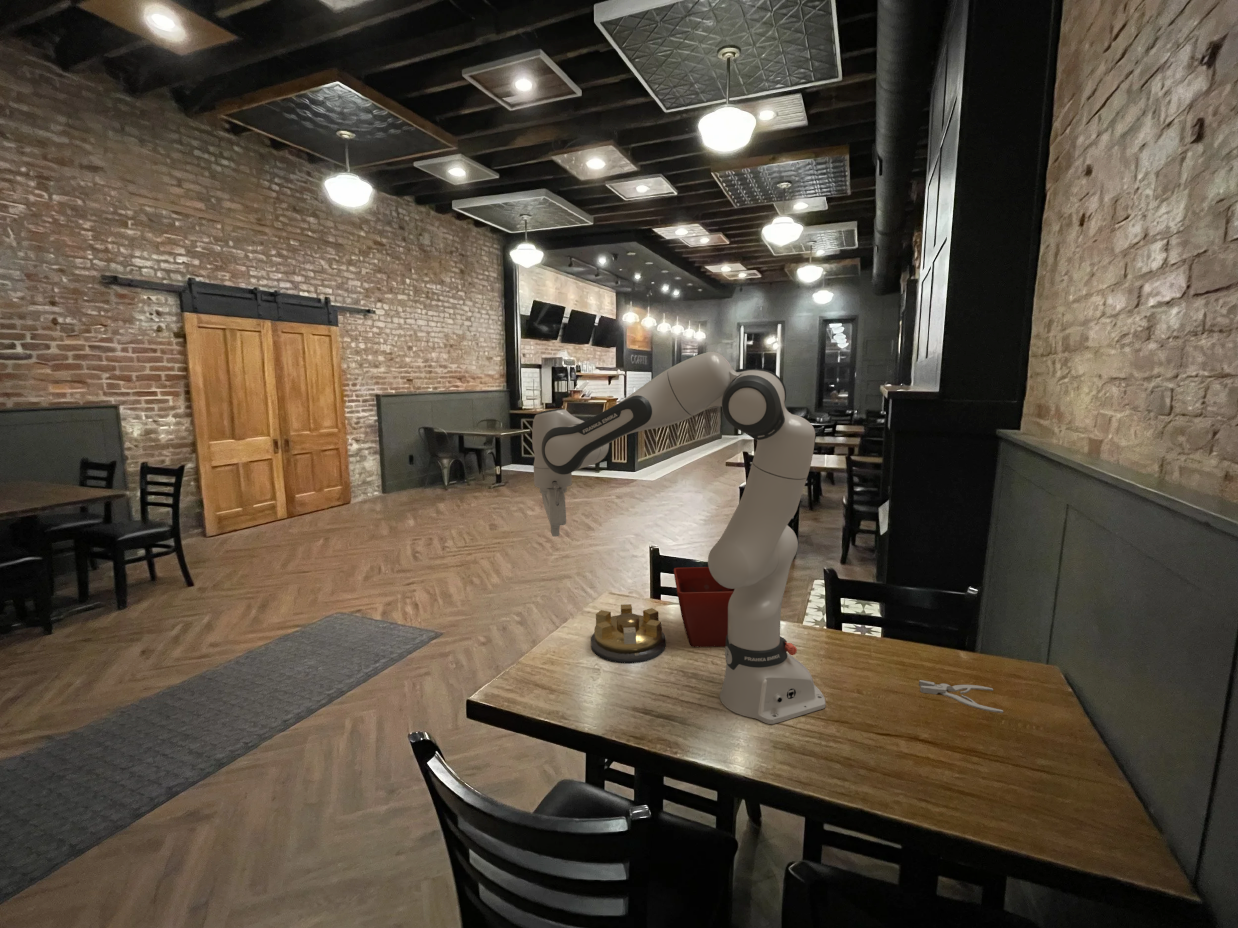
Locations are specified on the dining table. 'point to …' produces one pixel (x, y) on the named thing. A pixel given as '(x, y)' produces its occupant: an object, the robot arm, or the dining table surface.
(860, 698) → the dining table surface
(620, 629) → the ring nut
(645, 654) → the nut base
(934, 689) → the pliers
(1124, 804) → the dining table surface
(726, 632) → the plant pot
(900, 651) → the dining table surface
